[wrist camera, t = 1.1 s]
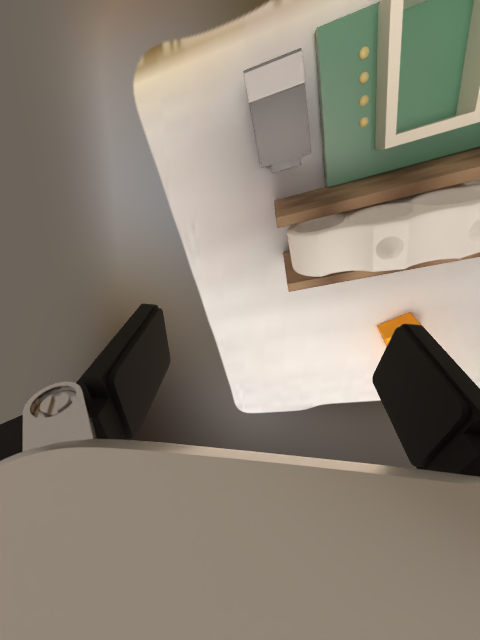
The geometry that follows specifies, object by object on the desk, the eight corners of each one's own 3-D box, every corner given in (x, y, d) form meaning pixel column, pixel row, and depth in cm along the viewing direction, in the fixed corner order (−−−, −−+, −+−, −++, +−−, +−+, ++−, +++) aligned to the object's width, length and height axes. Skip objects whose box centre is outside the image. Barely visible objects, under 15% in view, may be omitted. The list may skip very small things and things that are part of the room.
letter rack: (500, 139, 23) (612, 132, 15) (482, 216, 26) (566, 240, 19) (274, 201, 27) (275, 218, 20) (284, 258, 31) (288, 291, 24)
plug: (293, 74, 22) (301, 46, 16) (302, 160, 25) (312, 161, 20) (249, 90, 23) (242, 69, 17) (264, 172, 26) (262, 176, 20)
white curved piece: (282, 212, 28) (291, 253, 16) (467, 162, 24) (672, 167, 12) (287, 241, 30) (298, 298, 18) (461, 200, 26) (633, 237, 13)
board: (596, -81, 16) (669, -134, 13) (534, 129, 22) (575, 125, 19) (314, 33, 20) (322, 13, 17) (325, 186, 26) (332, 190, 23)
